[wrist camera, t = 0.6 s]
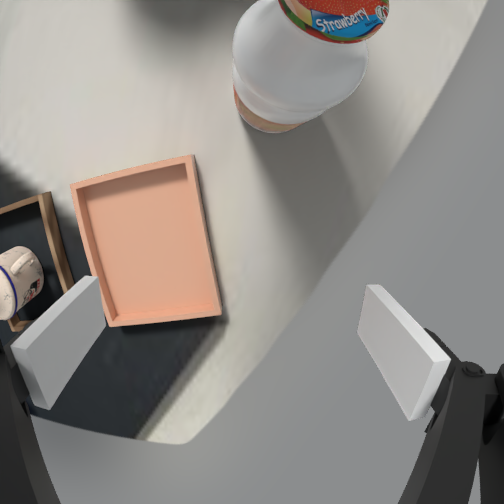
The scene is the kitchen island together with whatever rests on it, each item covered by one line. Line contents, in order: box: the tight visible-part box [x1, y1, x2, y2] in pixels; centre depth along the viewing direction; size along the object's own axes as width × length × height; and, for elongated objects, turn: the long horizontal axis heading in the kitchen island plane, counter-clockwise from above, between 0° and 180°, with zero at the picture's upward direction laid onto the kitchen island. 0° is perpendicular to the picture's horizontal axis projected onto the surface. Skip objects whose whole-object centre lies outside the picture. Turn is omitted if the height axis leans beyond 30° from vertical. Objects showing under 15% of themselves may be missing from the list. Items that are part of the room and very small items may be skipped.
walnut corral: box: [0, 191, 75, 331], centre depth 40 cm, size 21×17×2 cm
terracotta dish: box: [70, 155, 222, 327], centre depth 39 cm, size 21×17×3 cm
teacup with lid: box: [0, 246, 44, 320], centre depth 35 cm, size 12×9×12 cm
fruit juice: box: [232, 0, 389, 133], centre depth 22 cm, size 9×9×28 cm
